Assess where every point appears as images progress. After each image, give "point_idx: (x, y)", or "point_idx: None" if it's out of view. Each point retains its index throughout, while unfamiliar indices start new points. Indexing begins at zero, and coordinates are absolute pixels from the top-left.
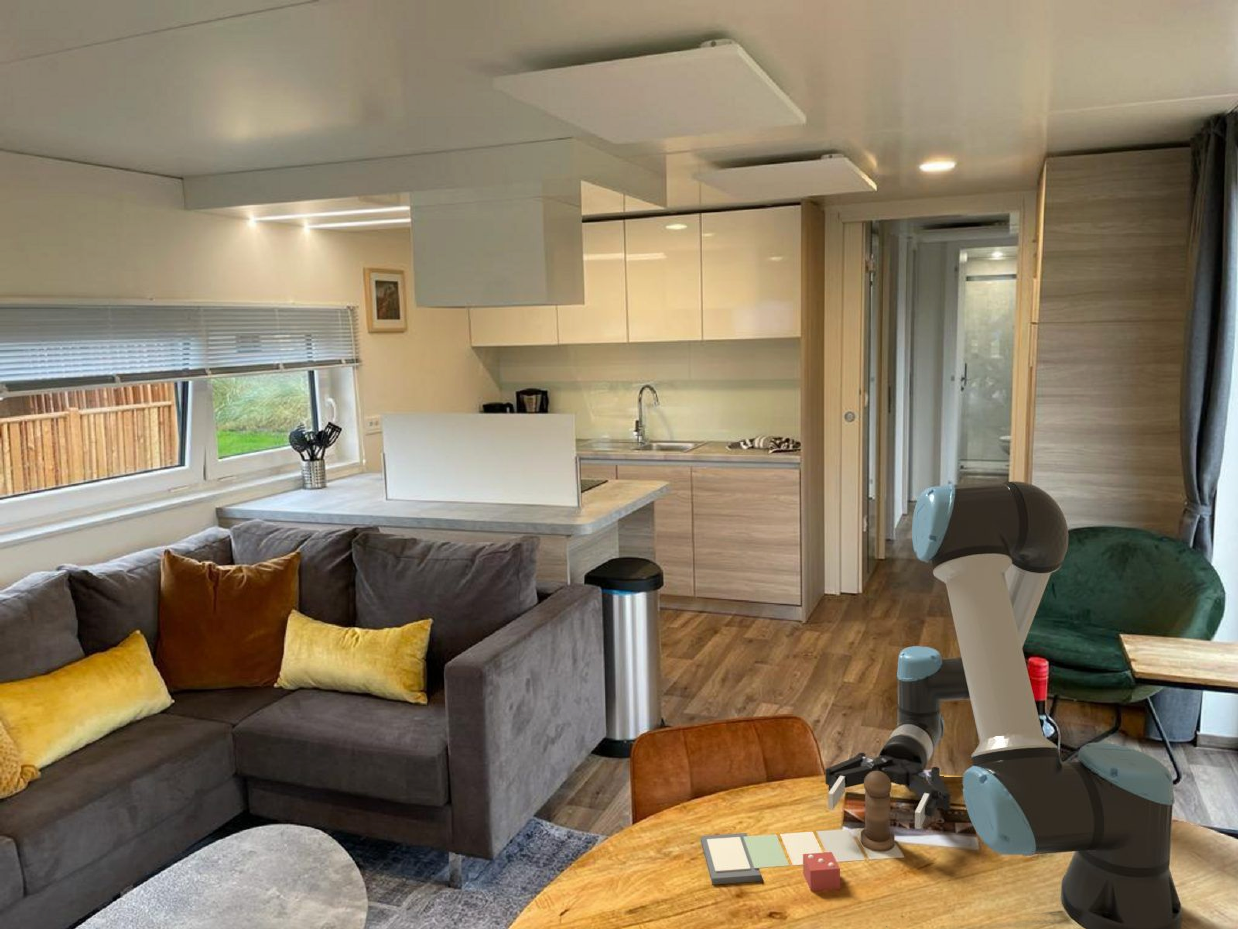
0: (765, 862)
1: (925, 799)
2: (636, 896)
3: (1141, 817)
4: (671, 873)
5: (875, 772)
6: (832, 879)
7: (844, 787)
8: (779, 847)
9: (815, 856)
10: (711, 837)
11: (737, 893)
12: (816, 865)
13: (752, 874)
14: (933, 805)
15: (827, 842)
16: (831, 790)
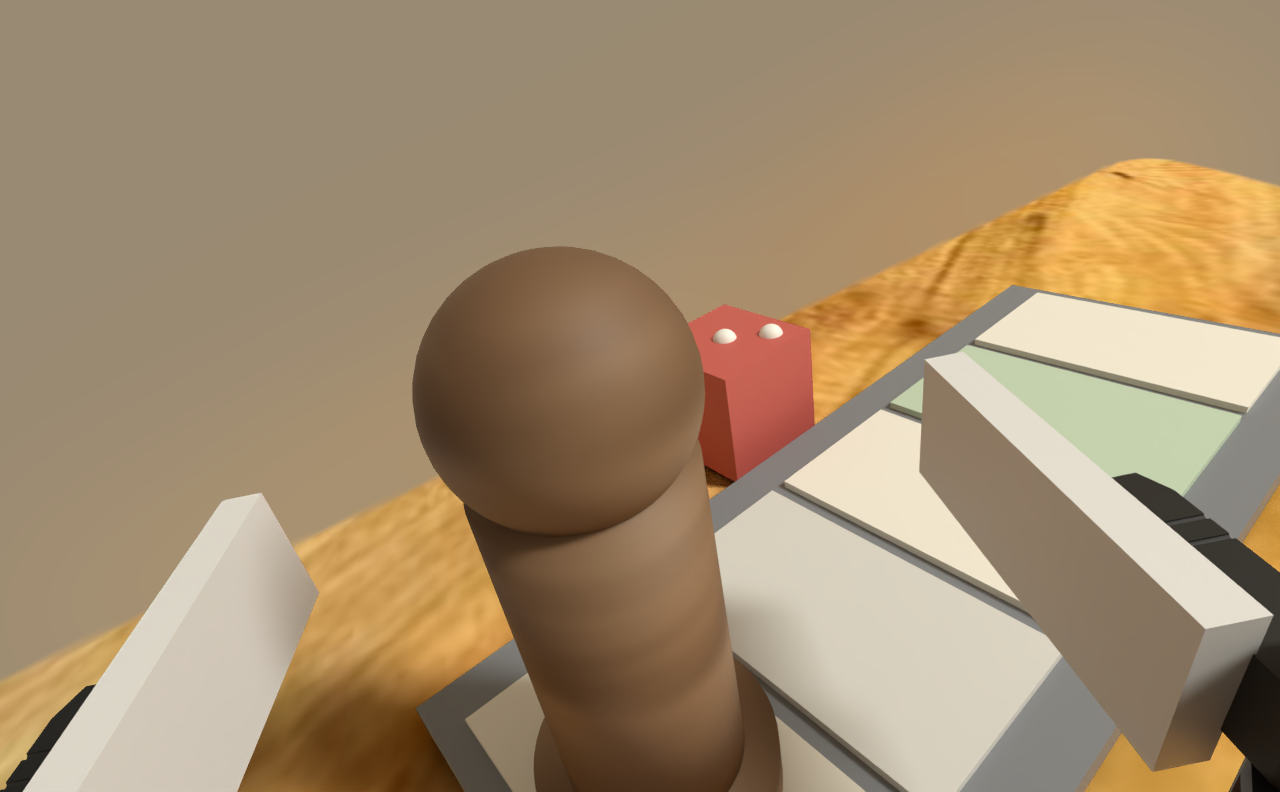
0: None
1: (88, 711)
2: (1090, 230)
3: None
4: (1155, 282)
5: (548, 250)
6: None
7: (1155, 716)
8: None
9: (760, 340)
10: None
11: (926, 325)
12: (723, 321)
13: (945, 337)
14: (32, 752)
15: (908, 590)
16: (982, 379)
